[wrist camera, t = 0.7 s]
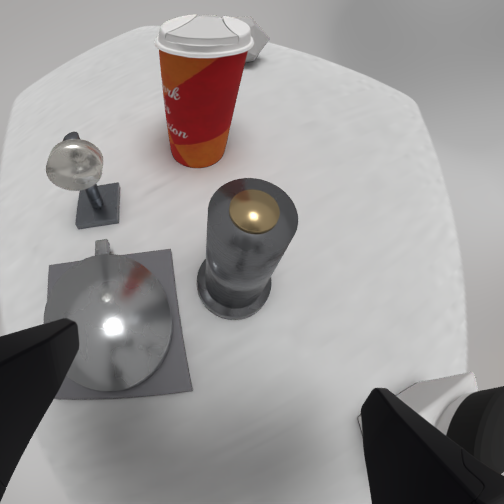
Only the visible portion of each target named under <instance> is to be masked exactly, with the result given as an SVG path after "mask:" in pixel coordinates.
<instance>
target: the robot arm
mask: <svg viewBox="0 0 504 504" xmlns="http://www.w3.org/2000/svg"><path fill="white" fill-rule="evenodd" d="M78 350H79V334H78V325H77V323H76V322H75V321H73V320H70V319H68V318H62V319H59V320H55V321H52V322H49V323H45V324H42V325H39V326H35V327H32V328H28V329H25V330H21V331H18V332H15V333H11V334H8V335H4V336H1V337H0V501H1V499H2V497H3V494H4V492H5V490H6V487H7V485H8V483H9V481H10V478H11V476H12V474H13V472H14V470H15V468H16V466H17V464H18V462H19V460H20V458H21V456H22V454H23V452H24V451H25V449H26V447H27V445H28V443H29V441H30V439H31V438H32V436H33V434H34V432H35V430H36V428H37V427H38V425H39V423H40V421H41V420H42V418H43V416H44V414H45V413H46V411H47V409H48V408H49V406H50V404H51V403H52V401H53V399H54V398H55V396H56V394H57V393H58V391H59V389H60V387H61V385H62V383H63V381H64V379H65V377H66V375H67V373H68V371H69V369H70V367H71V365H72V362H73V360H74V358H75V356H76V354H77V352H78ZM361 420H362V433H363V447H364V455H365V462H366V468H367V474H368V480H369V486H370V493H371V500H372V504H504V476H503V475H501V474H499V473H498V472H496V471H495V470H493V469H491V468H490V467H488V466H487V465H485V464H484V463H482V462H480V461H479V460H478V459H476V458H475V457H473V456H472V455H471V454H469V453H468V452H467V451H465V450H464V449H463V448H461V447H460V446H459V445H458V444H456V443H455V442H454V441H452V440H451V439H450V438H448V437H447V436H446V435H445V434H443V433H442V432H441V431H439V430H438V429H437V428H436V427H434V426H433V425H432V424H431V423H429V422H428V421H427V420H425V419H424V418H423V417H422V416H420V415H419V414H418V413H417V412H415V411H414V410H413V409H412V408H410V407H409V406H408V405H407V404H405V403H404V402H403V401H402V400H400V399H399V398H398V397H397V396H395V395H394V394H393V393H392V392H390V391H389V390H388V389H386V388H374V389H373V390H372V391H371V393H370V395H369V396H368V398H367V399H366V401H365V402H364V404H363V406H362V408H361Z"/></svg>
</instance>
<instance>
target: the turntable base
mask: <svg viewBox="0 0 504 504" xmlns="http://www.w3.org/2000/svg"><path fill="white" fill-rule="evenodd" d="M120 256H124V257H127V258H130V259H133V260H135V261H137V262H139V263H140V264H142V265H143V266H144V267H146V268H147V269H148V270H149V271H150V272H151V273H152V274H153V275H154V276H155V277H156V278H157V280H158V281H159V283H160V284H161V286H162V288H163V290H164V292H165V294H166V297H167V300H168V303H169V305H170V309H171V314H172V324H173V327H172V337H171V343H170V346H169V349H168V352H167V354H166V356H165V358H164V360H163V362H162V363H161V365H160V366H159V368H158V369H157V370H156V371H155V372H154V373H153V374H152V375H151V376H150V377H149V378H148V379H147V380H145V381H143V382H142V383H140V384H139V385H136V386H134V387H132V388H129V389H125V390H120V391H99V390H93V389H90V388H87V387H84V386H82V385H80V384H78V383H76V382H74V381H73V380H72V379H70V378H69V377H68V376H67V375H66V377H65V379H64V381H63V383H62V385H61V387H60V389H59V391H58V393H57V394H56V396H55V398H54V399H106V398H125V397H139V396H151V395H161V394H170V393H178V392H186V391H193V390H192V385H191V380H190V375H189V370H188V365H187V359H186V354H185V348H184V342H183V336H182V330H181V323H180V317H179V310H178V303H177V296H176V288H175V280H174V272H173V263H172V254H171V249H166V250H158V251H150V252H142V253H135V254H127V255H120ZM78 262H80V261H76V262H68V263H61V264H54V265H49V274H48V295H47V300H48V297H49V295H50V292H51V290H52V289H53V287H54V285H55V284H56V282H57V281H58V279H59V278H60V277H61V276H62V275H63V274H64V273H65V272H66V271H67V270H68V269H69V268H70V267H72V266H73V265H75V264H76V263H78Z"/></svg>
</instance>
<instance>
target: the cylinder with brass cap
mask: <svg viewBox="0 0 504 504" xmlns="http://www.w3.org/2000/svg"><path fill="white" fill-rule="evenodd" d="M297 226H298V214H297V210H296V208H295V205H294V203H293V202H292V200H291V199H290V197H289V196H288V195H287V194H286V193H285V192H284V191H283V190H282V189H280V188H279V187H277V186H276V185H274V184H272V183H269V182H267V181H264V180H260V179H254V178H243V179H237V180H233V181H231V182H228V183H226V184H224V185H223V186H221V187H220V188H219V189H218V190H217V191H216V192H215V193H214V195H213V196H212V198H211V200H210V203H209V207H208V222H207V244H206V259H205V260H204V262H203V263H202V265H201V267H200V269H199V272H198V277H197V286H198V293H199V296H200V299H201V301H202V302H203V304H204V305H205V307H206V308H207V309H208V310H209V311H211V312H212V313H213V314H215V315H217V316H219V317H221V318H225V319H230V320H239V319H244V318H247V317H250V316H252V315H253V314H255V313H256V312H257V311H259V310H260V309H261V307H262V306H263V305H264V303H265V302H266V300H267V298H268V296H269V294H270V290H271V275H272V274H273V272H274V270H275V268H276V267H277V265H278V263H279V261H280V259H281V258H282V256H283V254H284V252H285V251H286V249H287V247H288V245H289V243H290V242H291V240H292V238H293V236H294V235H295V233H296V230H297Z"/></svg>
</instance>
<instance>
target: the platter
mask: <svg viewBox="0 0 504 504" xmlns="http://www.w3.org/2000/svg"><path fill="white" fill-rule="evenodd" d="M62 318H68V319H70V320H73V321H75V322H76V323H77V325H78V334H79V350H78V352H77V354H76V356H75V358H74V360H73V362H72V365H71V367H70V369H69V371H68V373H67V376H68V377H69V378H70V379H72V380H73V381H74V382H76V383H78V384H80V385H82V386H84V387H87V388H90V389H93V390H99V391H120V390H125V389H129V388H132V387H134V386H136V385H139V384H140V383H142V382H143V381H145V380H147V379H148V378H149V377H150V376H151V375H152V374H153V373H154V372H155V371H156V370H157V369H158V368H159V366H160V365H161V363H162V362H163V360H164V358H165V356H166V354H167V352H168V349H169V346H170V343H171V337H172V327H173V324H172V314H171V309H170V305H169V303H168V300H167V297H166V294H165V292H164V290H163V288H162V286H161V284H160V283H159V281H158V280H157V278H156V277H155V276H154V275H153V274H152V273H151V272H150V271H149V270H148V269H147V268H146V267H144V266H143V265H142V264H140V263H139V262H137V261H135V260H133V259H130V258H127V257H124V256H120V255H113V254H110V244H109V242H108V240H107V239H104V240H97V241H96V242H95V256H92V257H89V258H86V259H84V260H82V261H80V262H78V263H76V264H75V265H73V266H72V267H70V268H69V269H68V270H67V271H66V272H65V273H64V274H63V275H62V276H61V277H60V278H59V279H58V281H57V282H56V284H55V285H54V287H53V289H52V290H51V292H50V295H49V297H48V300H47V303H46V307H45V312H44V324H45V323H49V322H52V321H55V320H59V319H62Z"/></svg>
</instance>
